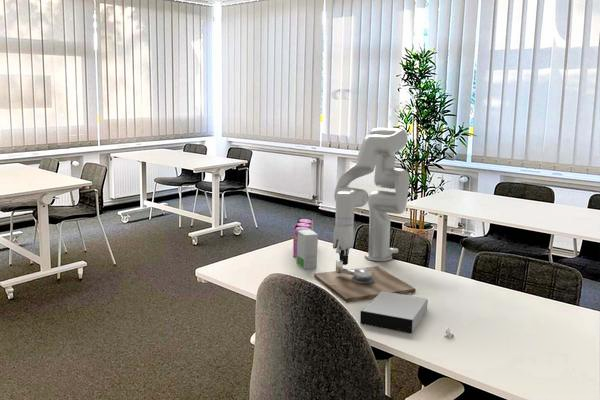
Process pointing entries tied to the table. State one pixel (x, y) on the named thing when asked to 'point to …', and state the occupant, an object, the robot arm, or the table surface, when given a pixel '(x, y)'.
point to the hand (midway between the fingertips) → (343, 263)
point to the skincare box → (307, 249)
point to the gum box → (300, 225)
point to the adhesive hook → (448, 333)
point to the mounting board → (363, 284)
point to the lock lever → (354, 272)
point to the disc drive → (394, 311)
